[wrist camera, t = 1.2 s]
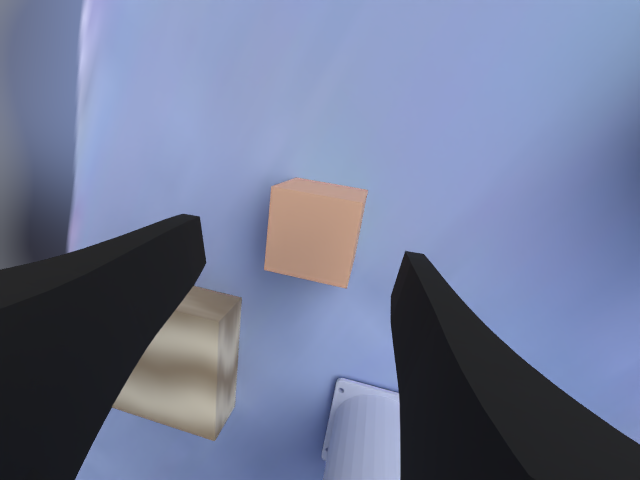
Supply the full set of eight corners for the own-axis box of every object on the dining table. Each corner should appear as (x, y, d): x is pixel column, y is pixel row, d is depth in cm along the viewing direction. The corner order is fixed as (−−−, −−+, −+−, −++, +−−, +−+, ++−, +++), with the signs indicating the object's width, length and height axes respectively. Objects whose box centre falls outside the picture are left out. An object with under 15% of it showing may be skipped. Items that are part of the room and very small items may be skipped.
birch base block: (236, 402, 29) (214, 441, 25) (129, 370, 30) (94, 401, 27) (243, 295, 25) (218, 321, 21) (120, 265, 26) (77, 284, 23)
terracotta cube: (354, 257, 21) (346, 288, 17) (289, 244, 22) (264, 269, 17) (368, 189, 20) (363, 202, 15) (296, 177, 20) (271, 186, 16)
